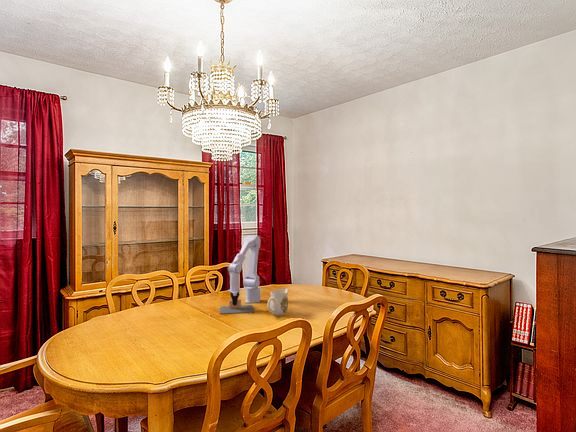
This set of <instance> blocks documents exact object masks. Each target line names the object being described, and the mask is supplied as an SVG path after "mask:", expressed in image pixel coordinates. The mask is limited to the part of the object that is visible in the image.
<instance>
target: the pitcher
mask: <svg viewBox="0 0 576 432" xmlns="http://www.w3.org/2000/svg"><path fill="white" fill-rule="evenodd" d="M288 290H289V288H287V287H285V288H279V289H278V288H277V289H273V290H270V292H269V293H270V297H269V299H268V300H267V304H266V306H267V310H268V311H269V312H270V313H272V314H273V315H274V316H277V317H278V316H279V317H280V316H284V315H285V314H286V313H287V310H288V308H289V298H288Z"/></svg>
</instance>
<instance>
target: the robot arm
mask: <svg viewBox="0 0 576 432" xmlns="http://www.w3.org/2000/svg"><path fill="white" fill-rule="evenodd" d="M242 240H243V241H242V243H243V245H242V247H241V249H240V251H239V253H237V254H236V256H235V257H234V259H233V261H232V262H231V263H230V264H229V265H228V267H227V271H228V275H229V285H230V286H229V289H228V290H227V292H230V294H229V295H230V298H231V300H232V302H233V305H237V301H238V299H239V296H240V291H241V289H240V273H241V271H242V267H243V263H244V261H245V259H246V256H245V255H246V254H247V253H248V251H249V249H250V254H249V255H250V256H249V264H248V272H247V274H245V275H244V277H243V278H244V279H243V280H242V281H243V282H242V283H243V284H242V286H244V289H245V300H244V302H245V303H246V304H254V303H261V288H260V284H261V283H260V276H259V275H258V274H257V268H258V261H259V260H258V259H259V250H260V248H261V241H262V240H261V237H260V236H259V235H247V234H246V235H245V236H244V238H243V239H242Z"/></svg>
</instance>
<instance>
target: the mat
mask: <svg viewBox="0 0 576 432" xmlns="http://www.w3.org/2000/svg"><path fill="white" fill-rule="evenodd" d="M253 313H255V312H254V308H253V304H244V305H242V304H241V308H236V309H230V306H229V305H223V306H222V305H221V306H220V307H219V315H232V314H234V315H235V314H253Z"/></svg>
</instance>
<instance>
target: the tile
mask: <svg viewBox="0 0 576 432" xmlns="http://www.w3.org/2000/svg"><path fill="white" fill-rule="evenodd" d="M228 301H229V302H228V303H229V305H228V306H230V309H236V308H241V305H242V299H239V298H238V301H237V305H233V302H232V299H229V300H228Z"/></svg>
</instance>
